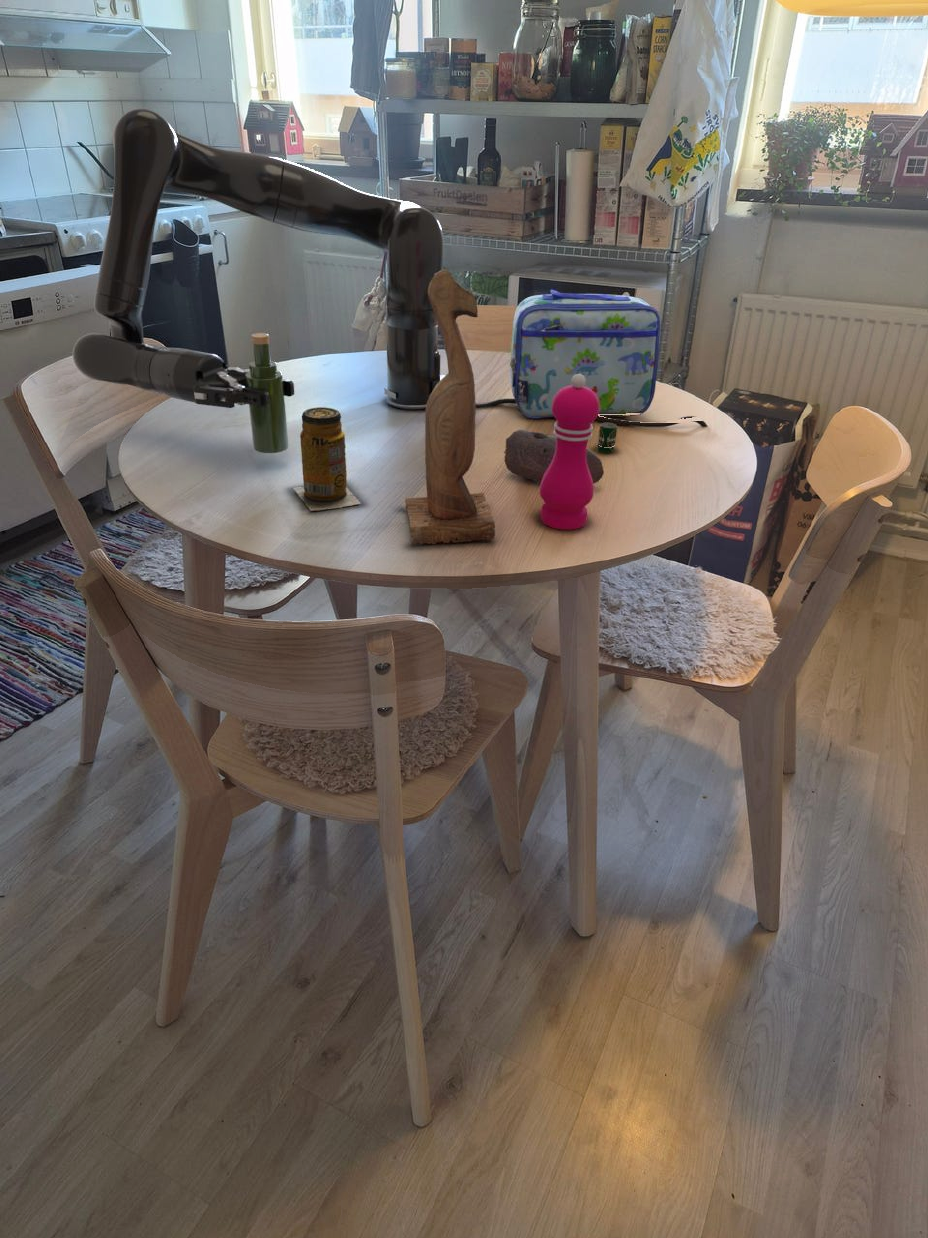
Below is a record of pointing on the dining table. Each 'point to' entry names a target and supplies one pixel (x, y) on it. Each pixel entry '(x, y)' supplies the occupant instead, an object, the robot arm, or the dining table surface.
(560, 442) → the pepper mill
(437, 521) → the bird sculpture
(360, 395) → the dining table surface
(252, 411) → the oil bottle
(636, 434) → the dining table surface
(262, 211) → the robot arm
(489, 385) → the dining table surface
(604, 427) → the beer can
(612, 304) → the lunch box
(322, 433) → the condiment
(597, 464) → the perforated stone tool
